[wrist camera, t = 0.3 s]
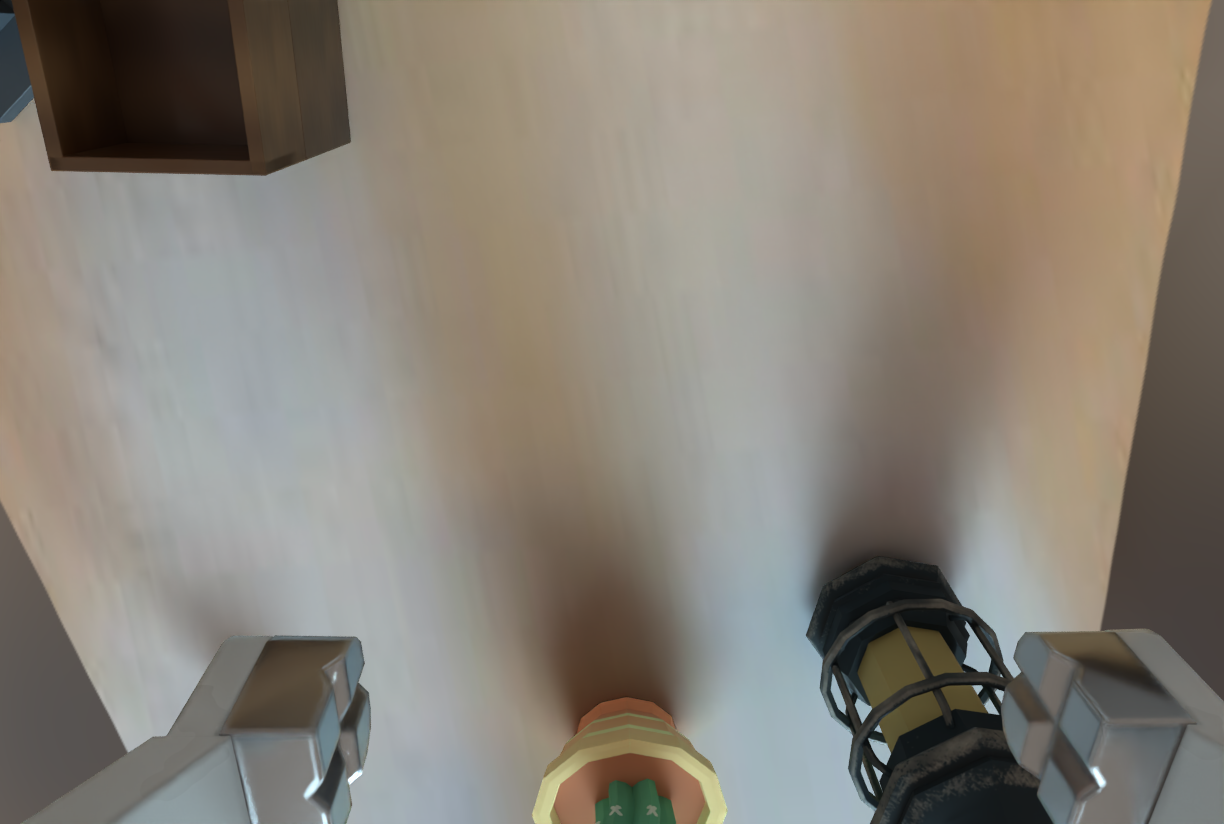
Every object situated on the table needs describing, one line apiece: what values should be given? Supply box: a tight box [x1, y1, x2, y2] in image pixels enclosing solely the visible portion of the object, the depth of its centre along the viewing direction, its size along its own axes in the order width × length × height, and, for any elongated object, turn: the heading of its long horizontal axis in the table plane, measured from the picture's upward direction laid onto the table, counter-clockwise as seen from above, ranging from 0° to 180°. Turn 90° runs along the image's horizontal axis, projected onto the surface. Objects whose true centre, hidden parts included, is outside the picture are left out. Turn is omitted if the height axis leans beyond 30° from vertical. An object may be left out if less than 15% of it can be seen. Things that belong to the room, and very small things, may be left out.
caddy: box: [11, 0, 351, 176], centre depth 44 cm, size 14×10×15 cm
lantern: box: [806, 556, 1054, 824], centre depth 52 cm, size 14×13×35 cm
